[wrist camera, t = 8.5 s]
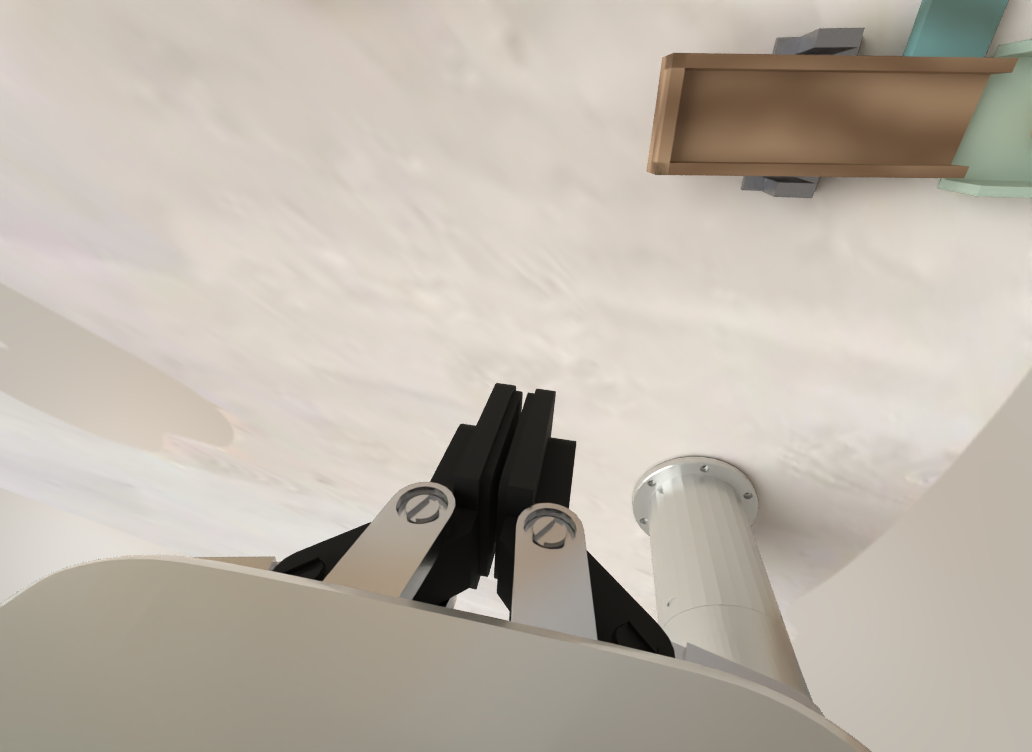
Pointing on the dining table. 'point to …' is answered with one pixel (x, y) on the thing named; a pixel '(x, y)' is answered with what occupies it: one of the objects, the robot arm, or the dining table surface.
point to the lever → (831, 105)
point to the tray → (999, 133)
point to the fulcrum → (809, 44)
